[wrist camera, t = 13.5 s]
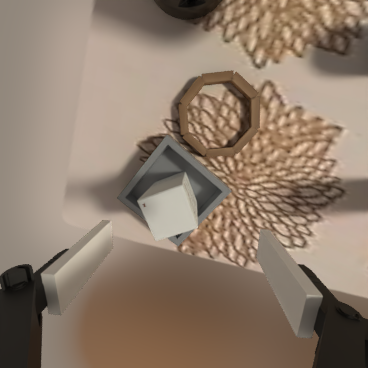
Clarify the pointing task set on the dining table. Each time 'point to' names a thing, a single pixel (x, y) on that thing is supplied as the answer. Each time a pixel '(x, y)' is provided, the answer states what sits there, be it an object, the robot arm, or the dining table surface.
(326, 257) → the dining table surface
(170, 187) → the supplement box
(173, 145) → the bin
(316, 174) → the dining table surface
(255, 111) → the ring
